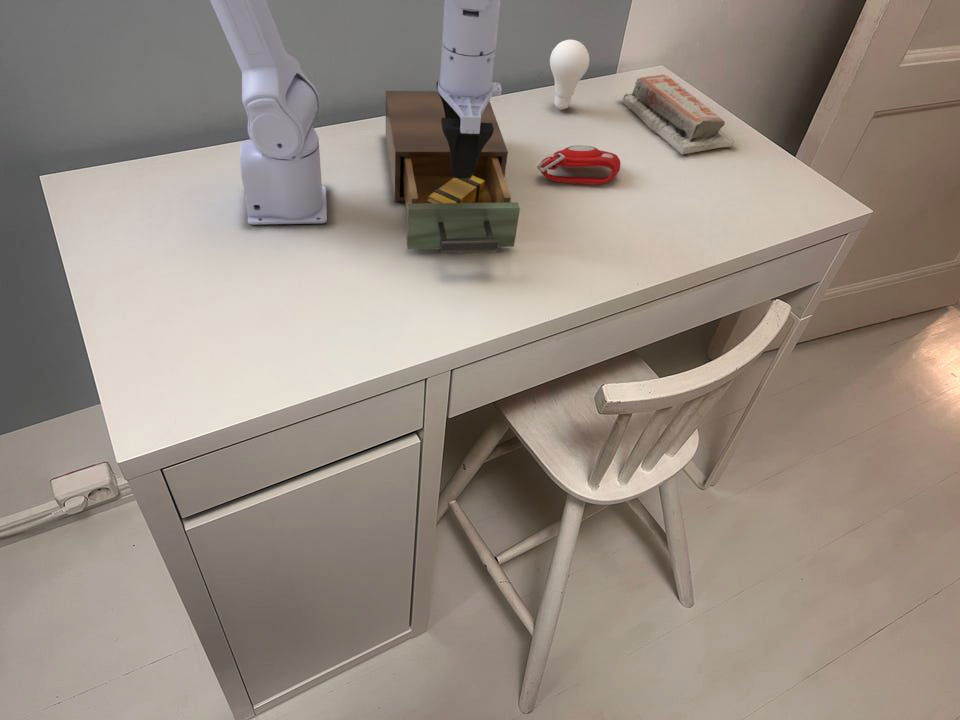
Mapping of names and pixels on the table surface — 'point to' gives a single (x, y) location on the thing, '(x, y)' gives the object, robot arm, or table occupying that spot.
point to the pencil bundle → (459, 191)
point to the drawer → (457, 208)
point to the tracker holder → (580, 164)
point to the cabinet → (426, 132)
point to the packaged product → (676, 115)
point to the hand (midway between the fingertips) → (459, 159)
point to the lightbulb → (567, 69)
